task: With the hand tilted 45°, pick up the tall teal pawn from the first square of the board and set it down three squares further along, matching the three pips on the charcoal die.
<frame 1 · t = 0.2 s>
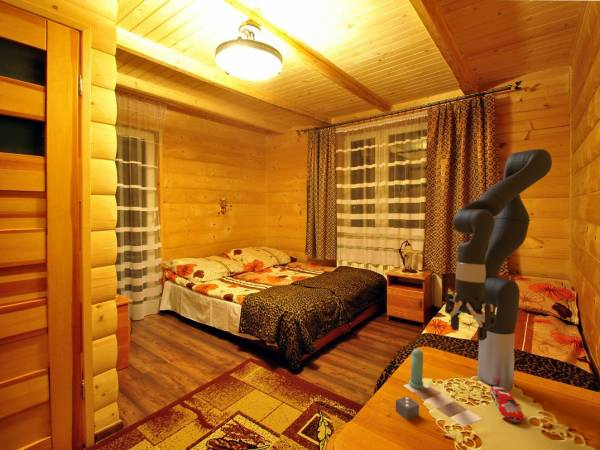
hand: (467, 334, 89), 18 cm above the table, tool pointing down, fingers open, 8 cm apart
die: (406, 417, 80), on the table
board: (439, 404, 85), on the table
race car: (505, 410, 84), on the table
pawn: (416, 385, 92), point 1 cm above the table, touching board
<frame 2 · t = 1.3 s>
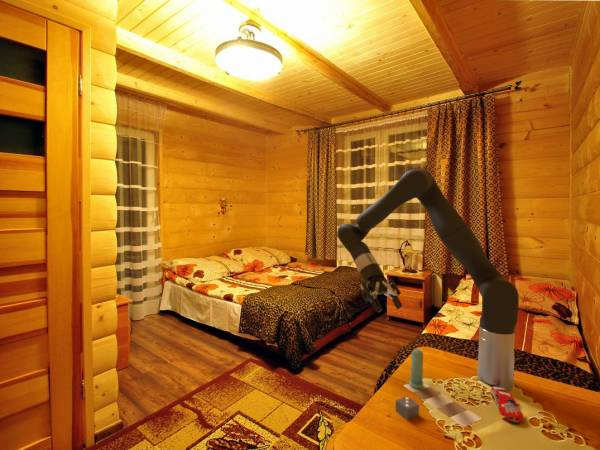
hand: (390, 309, 101), 21 cm above the table, tool tilted 45°, fingers open, 8 cm apart
nothing on the table moved.
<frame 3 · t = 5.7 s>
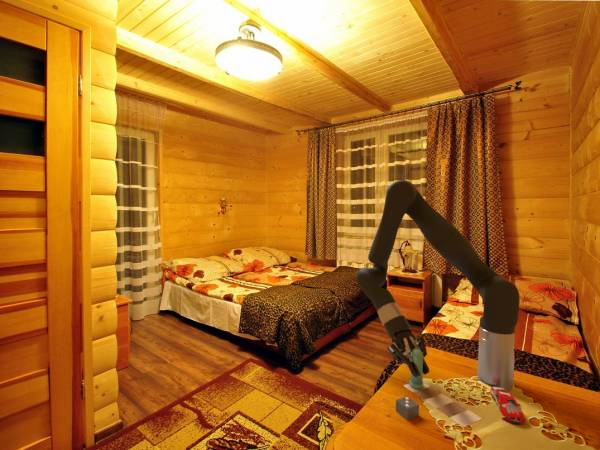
hand: (422, 374, 90), 6 cm above the table, tool tilted 45°, fingers closed on pawn, 3 cm apart
pawn: (416, 385, 92), point 1 cm above the table, touching board, gripper
everything else where it was.
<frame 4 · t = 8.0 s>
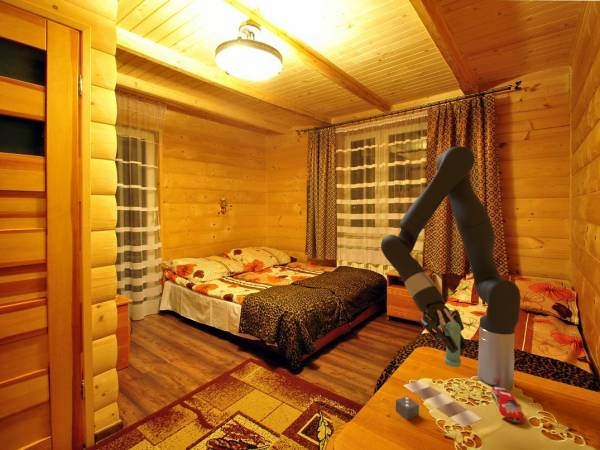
hand: (460, 349, 79), 18 cm above the table, tool tilted 45°, fingers closed on pawn, 3 cm apart
pawn: (452, 363, 81), point 13 cm above the table, touching gripper
everything else where it was.
when the fingers open (7 cm above the table, at t = 10.4 s): pawn stays where it is, resting on board.
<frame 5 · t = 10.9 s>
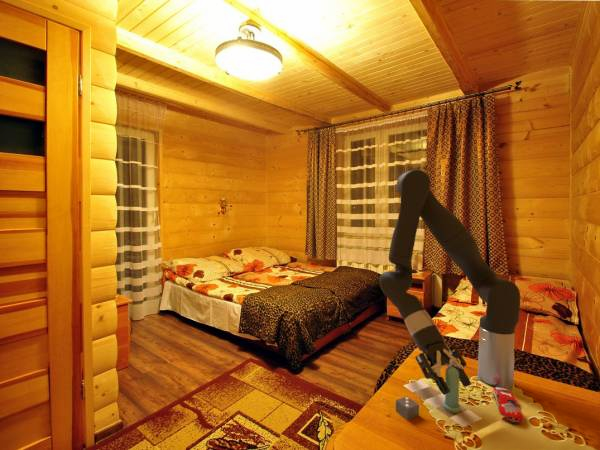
hand: (457, 389, 80), 7 cm above the table, tool tilted 45°, fingers open, 7 cm apart
pawn: (451, 408, 82), point 1 cm above the table, touching board
everything else where it was.
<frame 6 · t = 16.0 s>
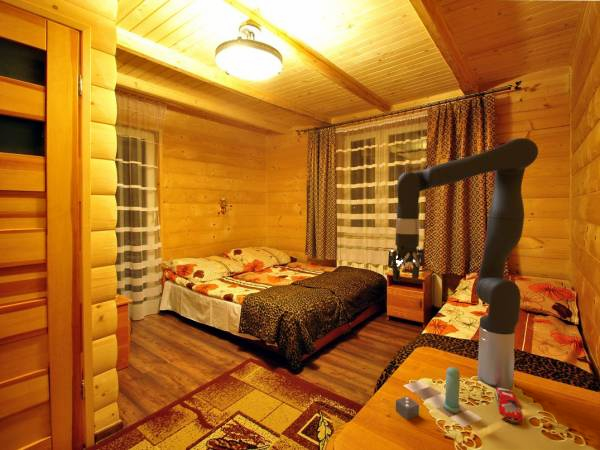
hand: (406, 279, 105), 30 cm above the table, tool pointing down, fingers open, 8 cm apart
nothing on the table moved.
at the end: pawn 0.1 cm from the target spot, point 1.2 cm above the table; pawn tilted 0°; the gripper is holding nothing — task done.
